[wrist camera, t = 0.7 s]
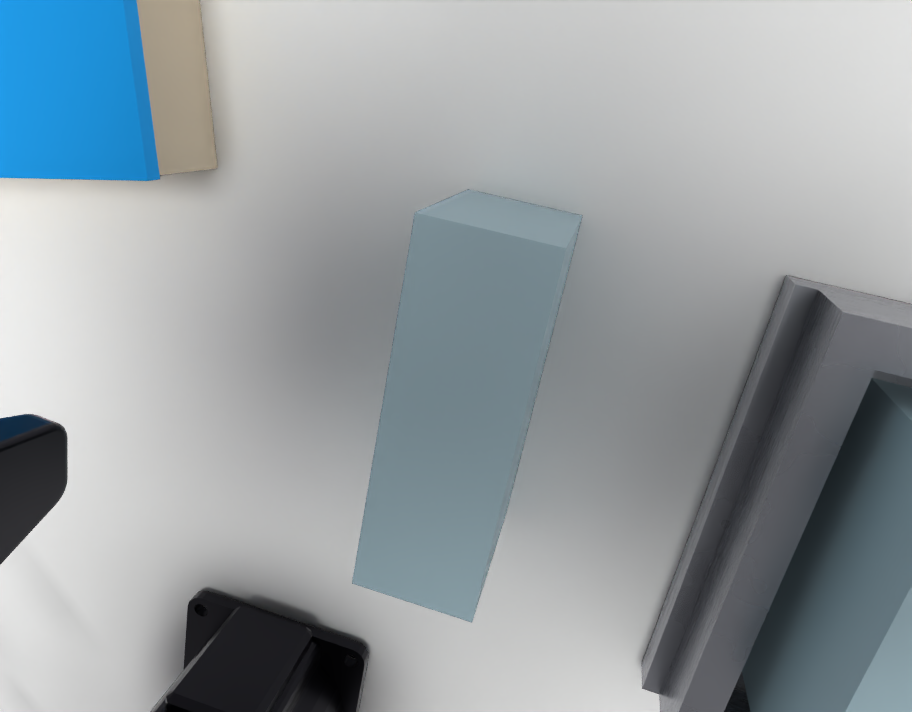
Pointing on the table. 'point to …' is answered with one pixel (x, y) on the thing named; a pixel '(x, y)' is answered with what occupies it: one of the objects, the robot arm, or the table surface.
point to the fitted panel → (848, 580)
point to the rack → (769, 484)
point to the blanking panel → (460, 394)
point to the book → (103, 90)
